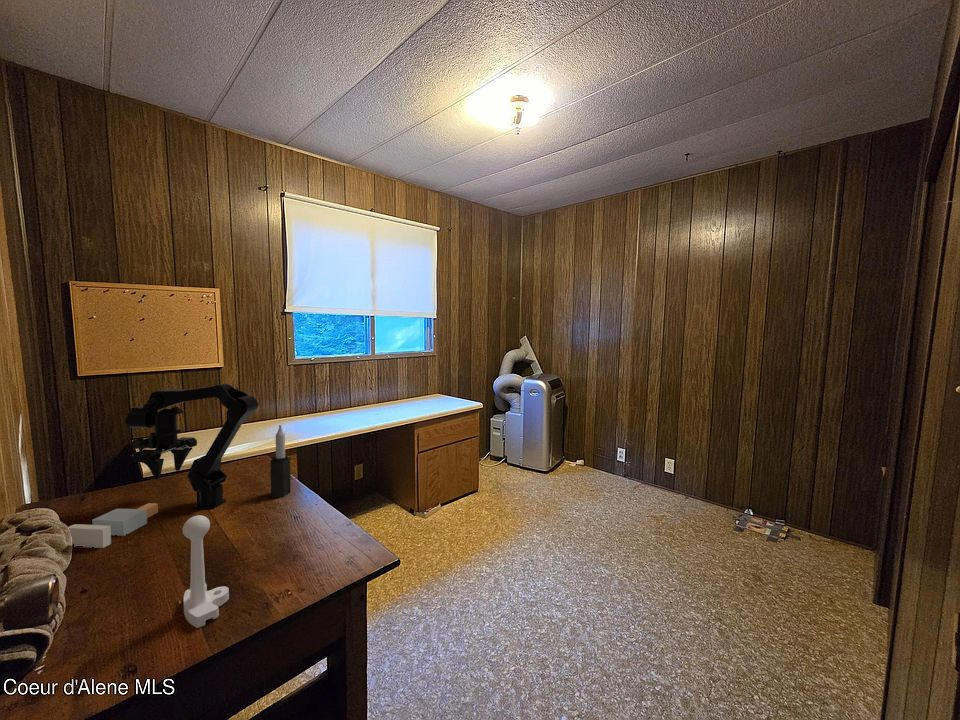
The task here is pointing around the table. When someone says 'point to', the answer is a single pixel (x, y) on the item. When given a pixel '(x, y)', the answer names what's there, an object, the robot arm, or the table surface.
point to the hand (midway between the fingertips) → (167, 474)
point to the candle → (280, 468)
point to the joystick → (200, 578)
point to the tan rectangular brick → (150, 509)
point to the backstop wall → (90, 535)
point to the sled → (122, 520)
